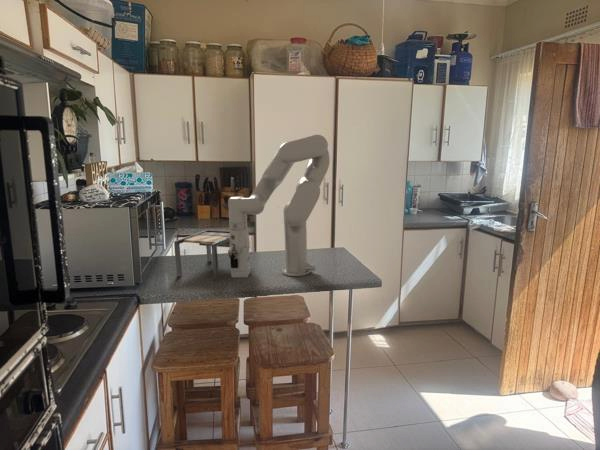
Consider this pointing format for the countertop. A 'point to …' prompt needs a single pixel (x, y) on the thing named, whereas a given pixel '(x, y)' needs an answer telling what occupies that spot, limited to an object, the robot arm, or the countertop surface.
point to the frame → (214, 252)
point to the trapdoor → (209, 239)
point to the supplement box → (242, 264)
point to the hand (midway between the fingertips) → (240, 264)
